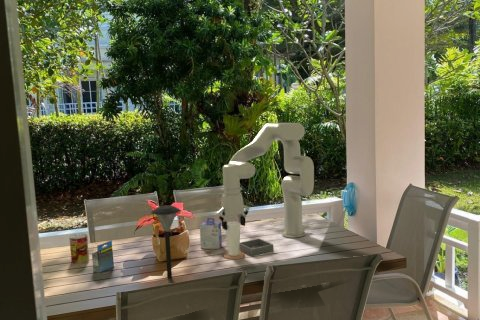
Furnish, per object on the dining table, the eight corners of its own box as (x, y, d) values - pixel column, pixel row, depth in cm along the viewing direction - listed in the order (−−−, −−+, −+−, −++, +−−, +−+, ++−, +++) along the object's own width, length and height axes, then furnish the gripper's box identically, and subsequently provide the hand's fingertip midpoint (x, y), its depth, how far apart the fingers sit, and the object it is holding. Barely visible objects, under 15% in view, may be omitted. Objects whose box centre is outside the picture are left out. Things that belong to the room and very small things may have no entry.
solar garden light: (183, 282, 192) (180, 209, 188) (153, 284, 191) (148, 211, 187) (184, 271, 204) (181, 203, 200) (156, 273, 203) (152, 204, 199)
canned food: (69, 260, 223) (67, 236, 221) (85, 256, 228) (83, 232, 226) (74, 265, 217) (72, 239, 215) (91, 260, 222) (89, 236, 220)
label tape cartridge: (108, 265, 215) (106, 239, 213) (114, 266, 213) (112, 240, 211) (92, 271, 207) (90, 244, 206) (99, 273, 205) (97, 245, 204)
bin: (259, 245, 236) (259, 238, 235) (273, 251, 226) (273, 244, 225) (238, 250, 230) (238, 243, 229) (252, 256, 219) (251, 249, 219)
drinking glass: (226, 252, 224) (224, 221, 222) (240, 251, 225) (239, 221, 223) (227, 257, 218) (225, 225, 216) (241, 256, 218) (240, 224, 216)
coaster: (237, 250, 228) (237, 249, 228) (249, 256, 220) (249, 255, 220) (219, 255, 223) (219, 253, 223) (230, 260, 215) (230, 259, 215)
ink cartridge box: (222, 245, 237) (221, 217, 235) (219, 249, 232) (218, 220, 230) (203, 245, 239) (202, 217, 237) (200, 248, 234) (199, 220, 232)
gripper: (243, 187, 225) (245, 222, 228) (211, 192, 216) (213, 229, 219) (252, 189, 219) (254, 225, 221) (219, 195, 210) (221, 232, 212)
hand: (234, 227), depth 220 cm, fingers open, 9 cm apart
